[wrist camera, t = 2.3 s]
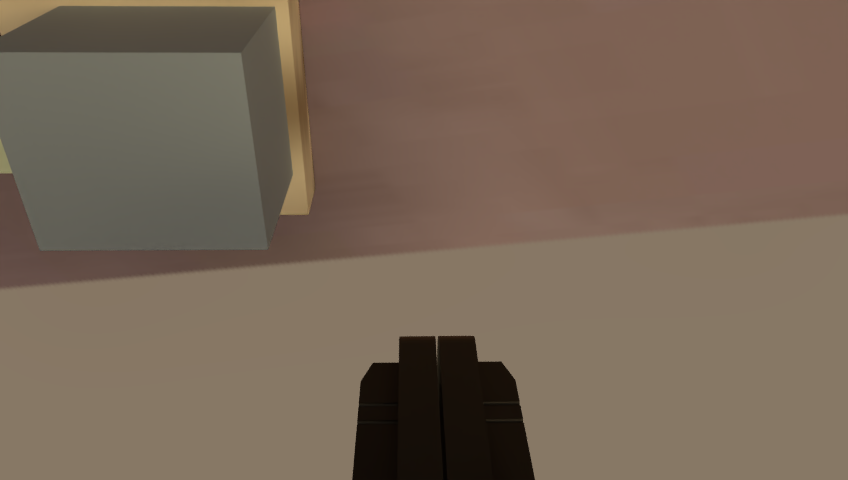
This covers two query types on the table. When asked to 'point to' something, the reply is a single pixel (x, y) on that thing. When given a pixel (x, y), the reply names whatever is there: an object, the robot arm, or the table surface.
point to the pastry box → (147, 126)
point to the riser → (20, 3)
